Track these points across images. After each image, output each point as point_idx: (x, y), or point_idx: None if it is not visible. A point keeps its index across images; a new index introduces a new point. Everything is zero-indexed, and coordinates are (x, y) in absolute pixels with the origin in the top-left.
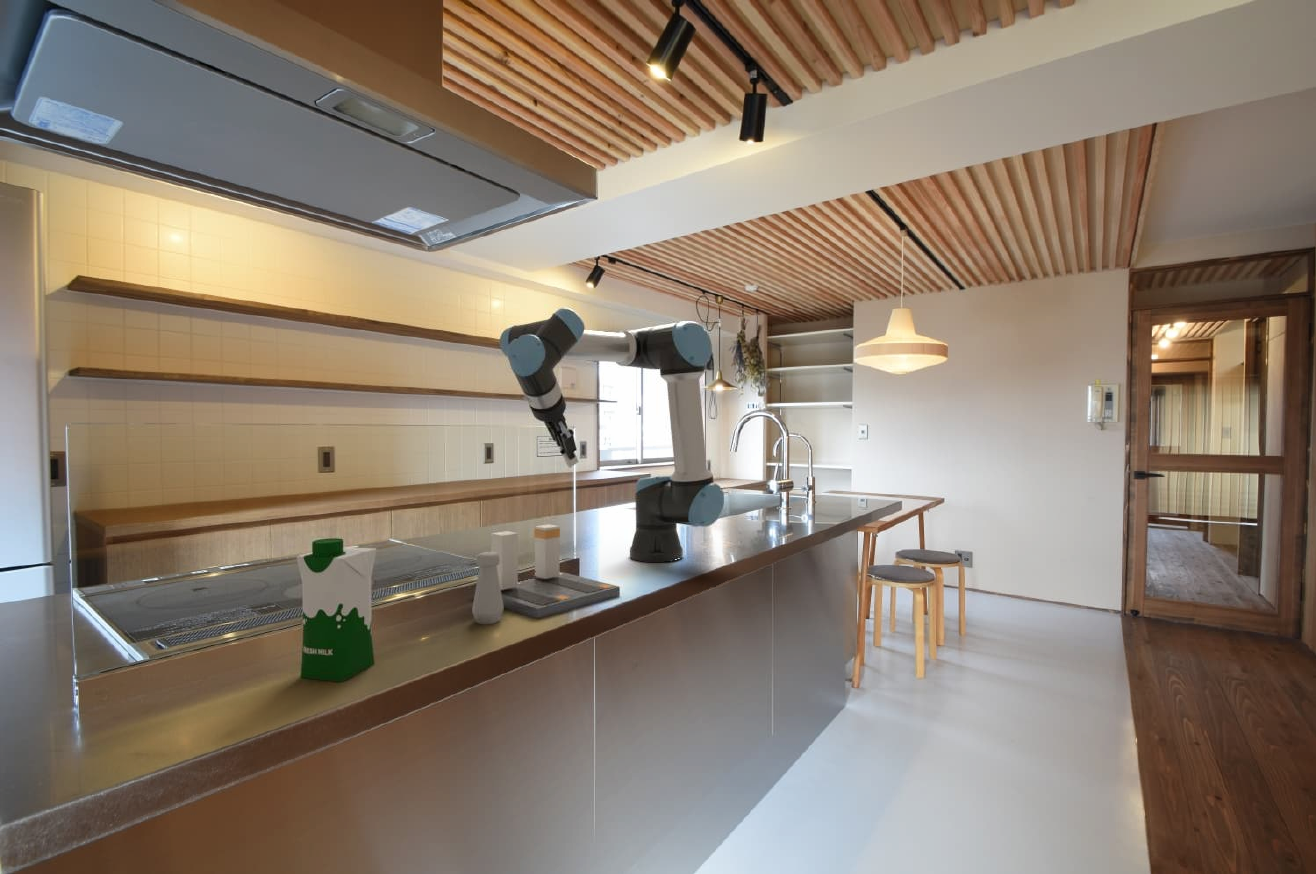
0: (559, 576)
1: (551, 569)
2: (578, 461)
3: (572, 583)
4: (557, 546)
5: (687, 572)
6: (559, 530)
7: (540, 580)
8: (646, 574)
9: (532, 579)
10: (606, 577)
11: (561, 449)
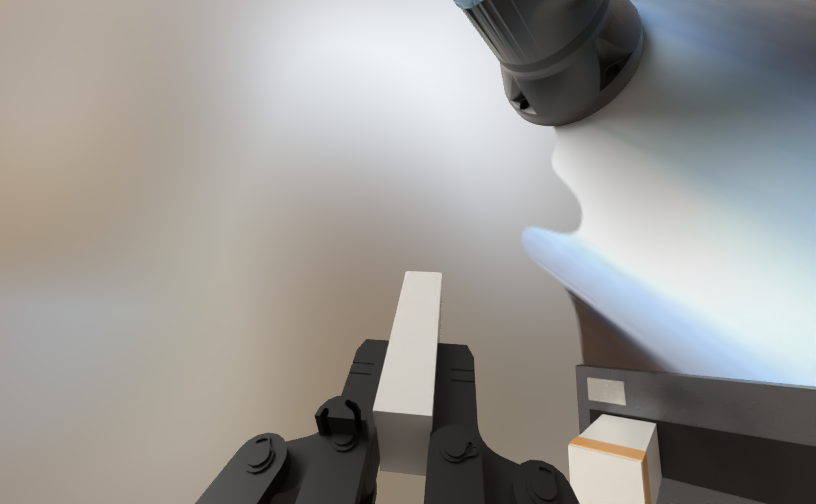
0: (640, 409)
1: (657, 460)
2: (441, 274)
3: (767, 462)
4: (649, 453)
5: (805, 56)
6: (643, 459)
7: None
8: (721, 169)
9: None
10: (662, 270)
11: (403, 469)
